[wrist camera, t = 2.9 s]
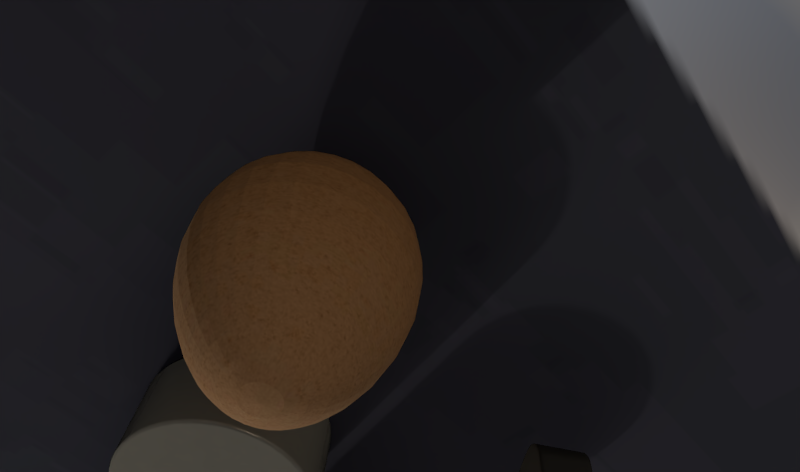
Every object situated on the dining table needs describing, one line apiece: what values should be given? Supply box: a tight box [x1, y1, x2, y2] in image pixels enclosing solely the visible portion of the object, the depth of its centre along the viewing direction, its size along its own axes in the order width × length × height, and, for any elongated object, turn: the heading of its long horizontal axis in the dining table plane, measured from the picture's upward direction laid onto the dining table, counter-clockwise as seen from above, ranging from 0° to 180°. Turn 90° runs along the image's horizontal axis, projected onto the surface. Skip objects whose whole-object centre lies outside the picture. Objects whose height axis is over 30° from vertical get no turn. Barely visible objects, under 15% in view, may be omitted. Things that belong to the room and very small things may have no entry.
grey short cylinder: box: [109, 358, 331, 472], centre depth 19 cm, size 5×5×2 cm
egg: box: [173, 151, 423, 431], centre depth 13 cm, size 4×4×6 cm
